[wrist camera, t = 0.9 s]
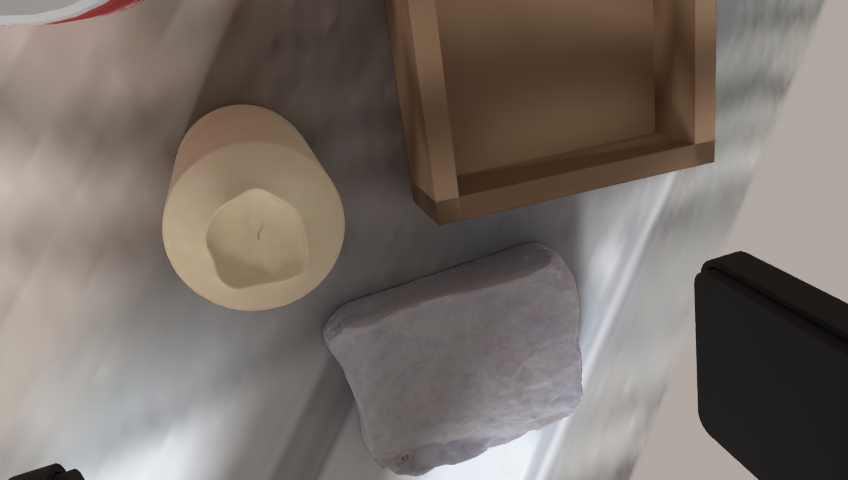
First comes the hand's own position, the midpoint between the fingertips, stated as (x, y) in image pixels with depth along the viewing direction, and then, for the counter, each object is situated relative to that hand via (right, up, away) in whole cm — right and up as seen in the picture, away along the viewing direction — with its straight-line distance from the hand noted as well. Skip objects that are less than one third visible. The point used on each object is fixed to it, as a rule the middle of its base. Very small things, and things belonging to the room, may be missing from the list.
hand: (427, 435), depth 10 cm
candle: (-8, +6, +19) cm, 22 cm away
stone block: (+1, -3, +25) cm, 25 cm away
